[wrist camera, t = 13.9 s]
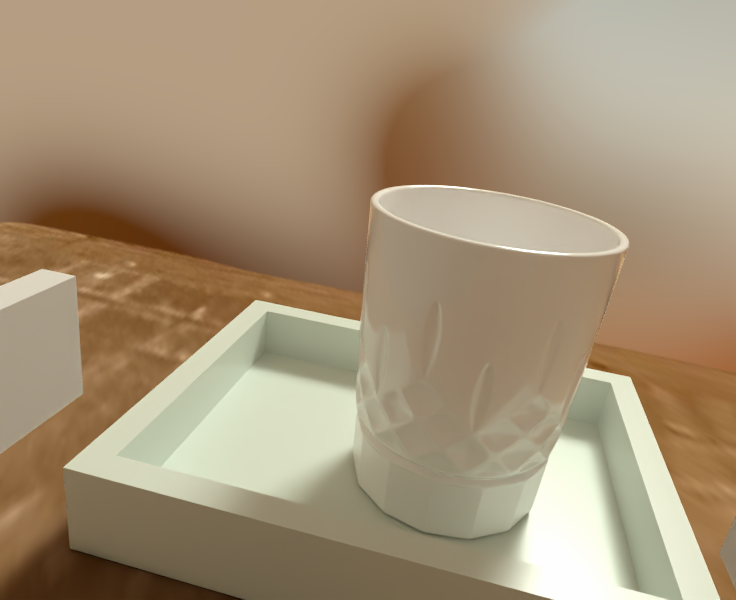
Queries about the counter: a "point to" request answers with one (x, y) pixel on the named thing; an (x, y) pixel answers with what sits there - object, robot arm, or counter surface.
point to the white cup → (472, 349)
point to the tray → (348, 500)
